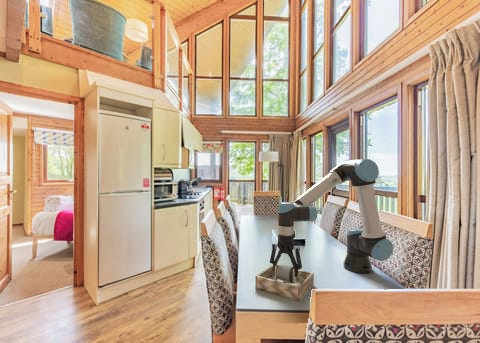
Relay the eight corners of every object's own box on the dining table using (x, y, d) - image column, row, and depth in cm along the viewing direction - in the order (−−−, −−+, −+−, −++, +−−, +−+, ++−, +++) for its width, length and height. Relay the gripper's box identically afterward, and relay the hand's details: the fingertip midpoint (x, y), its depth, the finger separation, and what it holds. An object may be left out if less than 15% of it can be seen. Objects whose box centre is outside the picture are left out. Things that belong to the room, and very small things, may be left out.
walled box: (313, 285, 124) (313, 272, 125) (299, 302, 108) (300, 288, 108) (273, 274, 136) (273, 263, 136) (255, 288, 120) (255, 276, 120)
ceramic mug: (282, 276, 128) (282, 261, 128) (296, 280, 123) (296, 264, 123) (271, 283, 120) (270, 267, 120) (286, 288, 114) (286, 271, 114)
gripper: (262, 232, 125) (262, 278, 125) (304, 239, 113) (304, 289, 113) (269, 229, 131) (269, 273, 131) (309, 235, 120) (309, 283, 119)
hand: (285, 280), depth 122 cm, fingers closed on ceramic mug, 8 cm apart
